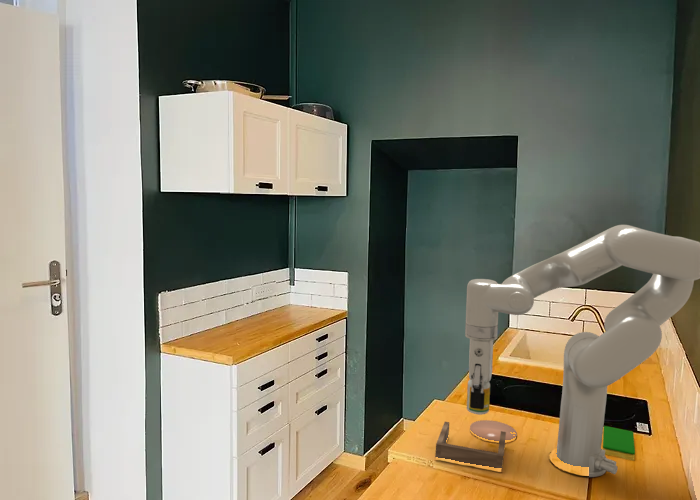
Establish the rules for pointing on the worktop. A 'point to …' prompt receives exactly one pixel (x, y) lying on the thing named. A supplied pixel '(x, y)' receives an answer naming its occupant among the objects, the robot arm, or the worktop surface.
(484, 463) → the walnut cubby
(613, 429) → the dish sponge
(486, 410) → the supplement bottle
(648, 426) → the worktop surface
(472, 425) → the terracotta coaster
